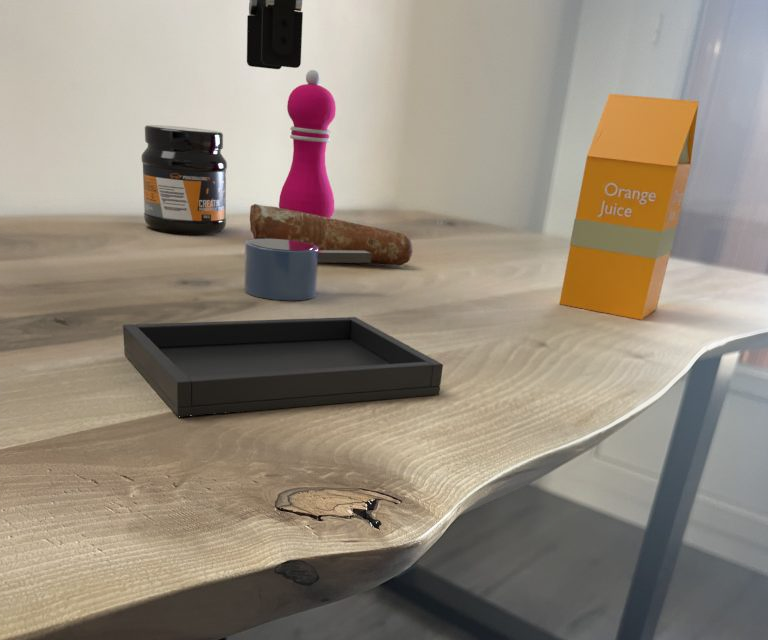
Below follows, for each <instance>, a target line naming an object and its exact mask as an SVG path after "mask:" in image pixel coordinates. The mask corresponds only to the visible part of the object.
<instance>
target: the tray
mask: <svg viewBox="0 0 768 640" xmlns="http://www.w3.org/2000/svg"><path fill="white" fill-rule="evenodd" d="M122 329H123V330H122V335H123V346H124V347H123V353H124V354H123V355H124V356H125V357H126V358H127V359H128V361H129V362H130V363H131V364H132V365H133V367H134V368H135V369H136V370H137V371H138V372H139V373H140V375H141V376H142V377H143V378H144V379H145V380H146V382H147V383H148V384H149V385H150V386H151V388H153V390H154V391H155V393H157V395H159V396H158V397H160V398H161V399H162V401H163V402H164V401H165V402H166V403H165V402H164V403H165V404H166V405H167V407H169V409H170V408H171V409H172V410H171V409H170V410H171V411H172V412H173V414H174V415H175V416H176V415H177V416H178V417H177V416H176V417H177V418H179V416H180V418H184V417H183V416H190V415H192V416H191V417H196V416H195V415H202V414H213V415H215V414H214V413H225V412H226V413H225V414H231V413H230V412H236V413H245V412H244V411H247V412H256V411H258V412H259V411H268V410H280V408H281V409H290V408H302V407H313V406H314V407H315V406H324V405H325V406H327V405H334V404H336V405H337V404H349V403H360V402H370V401H383V400H393V399H403V398H413V397H414V398H415V397H428V396H436V395H440V391H441V383H442V377H443V368H444V363H441V362H439V361H437V360H436V359H434V358H432V357H430V356H428V355H427V354H425V353H423V352H421V351H420V350H417V349H415V348H413V347H412V346H410V345H408V344H406V343H404V342H402V341H400V340H399V339H397V338H395V337H393V336H391V335H390V334H388V333H386V332H384V331H382V330H380V329H379V328H376V327H374V326H373V325H371V324H369V323H367V322H365V321H364V320H362V319H360V318H358V317H357V316H348V317H316V318H283V319H281V318H280V319H256V320H255V319H253V320H230V321H229V320H225V321H224V320H223V321H222V320H221V321H195V322H193V321H191V322H167V323H166V322H165V323H164V322H163V323H136V324H135V323H129V324H127V323H126V324H123V325H122ZM240 411H241V412H240ZM193 415H194V416H193ZM181 416H182V417H181ZM202 416H203V415H202Z"/></svg>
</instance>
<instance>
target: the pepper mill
mask: <svg viewBox="0 0 768 640" xmlns="http://www.w3.org/2000/svg"><path fill="white" fill-rule="evenodd" d="M305 82H306V84H300V85H298V86H296V87H295V88H294V89H292V91H291V92H290V94H289V96H288V99H287V104H286V107H287V108H286V109H287V114H288V116H289V118H290V119H291V122H292V124H293V126H290V127H289V128H290V131H291V133H290V135H289V136H290V137H289V138H290V139H292V141H293V143H292V144H293V145H292V147H293V152H292V161H291V165H290V168H289V171H288V174H287V176H286V179H285V181H284V183H283V185H282V187H281V190H280V195H279V199H278V200H279V201H278V208H282V209H287V210H292V211H298V212H303V213H307V214H312V215H318V216H323V217H327V218H331V219H332V216H333V215H334V213H335V199H334V198H335V197H334V192H333V189H332V186H331V183H330V180H329V176H328V172H327V166H326V149H327V143H330V142H331V139H330V134H331V130H329V129H328V128H329V126H330V124H331V123H332V122H333V121H334V119H335V117H336V112H337V111H336V110H337V108H336V106H337V105H336V101H335V98H334V96H333V94H332V93H331V92H330V90H329V89H327V88H326V87H324V86H321V85H319V84H320V83H321V75H320V72H318V71H317V70H316V69H310V70H308V72H306V75H305Z"/></svg>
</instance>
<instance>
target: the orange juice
mask: <svg viewBox="0 0 768 640" xmlns="http://www.w3.org/2000/svg"><path fill="white" fill-rule="evenodd" d="M699 103H700V101H699V100H686V99H677V98H665V97H652V96H643V95H641V96H639V95H630V94H629V95H628V94H618V93H617V94H616V93H609V94H608V97H607V100H606V102H605V104H604V108H603V110H602V114H601V116H600V119H599V122H598V125H597V127H596V130H595V133H594V135H593V139H592V141H591V144H590V147H589V149H588V152H587V154H586V158H585V159H586V160H585V165H584V171H583V174H582V175H583V176H582V181H581V187H580V191H579V197H578V203H577V208H576V211H575V212H576V213H575V217H574V221H573V226H572V232H571V237H570V243H569V245H570V246H569V249H568V250H569V251H568V256H567V261H566V266H565V272H564V277H563V283H562V288H561V293H560V299H559V304H558V305H562V306H568V307H572V308H579V309H583V310H588V311H594V312H598V313H603V314H610V315H615V316H620V317H625V318H630V319H635V320H639V321H642V320H644V319H645V318H646V317H648V316H649V315H650V314H652V313H653V312H655V311H656V310H657V309H658V305H659V301H660V297H661V293H662V288H663V284H664V279H665V276H666V271H667V268H668V264H669V259H670V255H671V252H672V249H673V245H674V240H675V237H676V232H677V227H678V221H679V217H680V213H681V210H682V205H683V200H684V197H685V193H686V188H687V184H688V180H689V175H690V172H691V168H692V156H693V148H694V141H695V135H696V126H697V118H698V111H699V110H698V109H699Z"/></svg>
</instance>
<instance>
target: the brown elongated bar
mask: <svg viewBox="0 0 768 640" xmlns="http://www.w3.org/2000/svg"><path fill="white" fill-rule="evenodd" d="M249 209H250V210H249V211H250V212H249V224H250V231H251V233H252V235H253V239H283V240H292V241H299V242H305V243H309V244H312V245H315V246H317V247H318V248H319V250H349V251H367V252H369V253H371V262H343V263H345V264H359V265H384V266H385V265H387V266H401V265H404V264H407V263H409V262H410V260H411V258H412V256H413V252H414V251H413V250H414V249H413V248H414V247H413V243H412V239H411V238H410V237H409V236H408V235H407V234H406V233H402V232H398V231H393V230H389V229H385V228H379V227H375V226H369V225H365V224H360V223H354V222H350V221H346V220H342V219H337V218H332V217H331V218H327V217H323V216H318V215H312V214H307V213H303V212H298V211H292V210H287V209H282V208H279V206H278V207H277V206H272V205H271V206H270V205H261V204H258V203H254V204H252V205H250V208H249Z"/></svg>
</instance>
